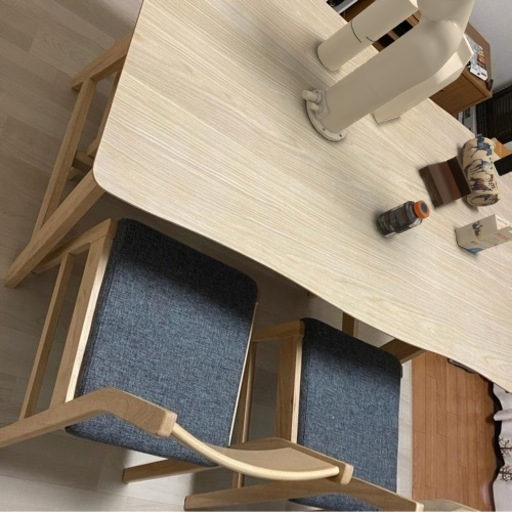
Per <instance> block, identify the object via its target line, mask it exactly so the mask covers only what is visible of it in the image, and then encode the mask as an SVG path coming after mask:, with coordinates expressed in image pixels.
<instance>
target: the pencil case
mask: <svg viewBox="0 0 512 512" xmlns="http://www.w3.org/2000/svg"><path fill="white" fill-rule="evenodd" d="M497 142H498V139H497V138H496V137H492V138H491V139H490V138H488V137H485V136H484V137H483V134H482V133H478V134H474V138H470V139H468V140H466V142H464V143H463V145H462V147H461V152H462V153H461V159H462V167H463V170H464V172H465V174H466V177H467V179H468V181H469V183H470V186H471V188H472V190H473V193H472V194H470V195H467V196H466V203H467V204H469V205H471V206H474V207H481V208H482V207H490V206H493V205H496V204H497V203H498V202H500V201H501V191H500V190H499V188H498V187H499V186H498V183H497V176H496V168H495V166H494V164H493V162H494V161H495V160H494V159H495V157H494V153H495V152H494V151H495V149H496V146H497V144H496V143H497Z"/></svg>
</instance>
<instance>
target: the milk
mask: <svg viewBox="0 0 512 512" xmlns="http://www.w3.org/2000/svg"><path fill="white" fill-rule="evenodd" d="M474 55H475V53H474V51H473V49H472V47H471V44H470V41H468V38H467V36H466V34H465V33H464V35H463V37H462V40H461V43H460V45H459V47H458V49H457V50H456V52H455V53H454V55H453V56H452V57H451V58H450V59H449V60H448V61H447V62H446V64H445V65H444V66H443V67H442V68H441V69H440V70H439V71H438V72H436V73H435V74H434V75H433V76H431V77H430V78H428V79H427V80H425V81H423V82H421V83H419V84H417V85H415V86H414V87H412V88H410V89H408V90H406V91H405V92H403V93H401V94H400V95H398V96H396V97H395V98H393V99H392V100H390V101H389V102H387V103H386V104H384V105H382V106H381V107H379V108H378V109H376V110H374V111H373V112H371V114H372V115H373V117H374V119H375V121H376V123H377V124H382V123H384V122H387V121H391V120H394V119H397V118H400V117H401V116H403V115H405V114H406V113H407V112H409V111H410V110H412V109H414V108H415V107H417V106H418V105H419V104H421V103H422V102H424V101H426V100H427V99H429V98H431V97H432V96H433V95H435V94H436V93H438V92H439V91H441V90H442V89H444V88H446V87H447V86H449V85H450V84H452V83H453V82H455V81H456V80H457V79H458V78H459V77H460V76H461V74H462V73H463V71H464V69H465V67H466V66H467V64H468V63H469V62H470V60H471V59H472V58H473V57H474Z"/></svg>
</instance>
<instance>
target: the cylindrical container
mask: <svg viewBox="0 0 512 512" xmlns="http://www.w3.org/2000/svg"><path fill="white" fill-rule="evenodd" d="M418 11H419V9H418V6H417V0H374V1H373V2H372V3H371V4H370V5H368V6H367V7H365V9H363V10H362V11H360V13H357V15H356V16H355V17H353V18H352V19H351V20H349V21H348V22H347V23H346V24H344V25H343V26H342V27H341V28H339V29H338V30H337V31H336V32H334V33H333V34H332V35H330V36H329V37H328V38H327V39H326V40H324V41H323V42H322V43H320V44H319V45H318V46H317V50H316V51H317V56H318V58H319V61H320V62H321V63H322V66H324V67H325V68H326V69H328V70H329V71H331V72H335V71H337V70H338V69H340V68H341V67H342V66H344V65H345V64H347V63H348V62H349V61H351V60H352V59H353V58H355V57H356V56H358V55H359V54H360V53H362V52H363V51H364V50H366V49H367V48H369V47H370V46H372V44H374V43H375V42H377V41H379V40H380V38H382V37H383V36H385V35H386V34H388V33H389V32H390V31H392V30H394V28H396V27H397V26H399V25H400V24H401V23H403V22H404V21H406V19H408V18H409V17H411V16H412V15H414V14H415V13H416V12H418Z"/></svg>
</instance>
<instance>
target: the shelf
mask: <svg viewBox="0 0 512 512" xmlns="http://www.w3.org/2000/svg"><path fill="white" fill-rule="evenodd" d="M418 173H419V175H420V176H425V177H426V179H427V181H428V184H429V186H430V188H431V190H432V193H433V195H434V198H435V201H433V202H432V206H433V208H434V209H436V208H439V207H441V206H444V205H447V204H450V203H453V202H456V201H458V200H460V199H463V198H466V197H467V196H468V195H470V194H472V193H473V190H472V188H471V186H470V183H469V181H468V179H467V177H466V174H465V172H464V168H463V164H462V163H461V161H460V158H459V156H458V155H455V156H453V157H451V158H449V159H447V160H445V161H440V162H436V163H432V164H428V165H425V166H423V167H422V168H419V169H418Z"/></svg>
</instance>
